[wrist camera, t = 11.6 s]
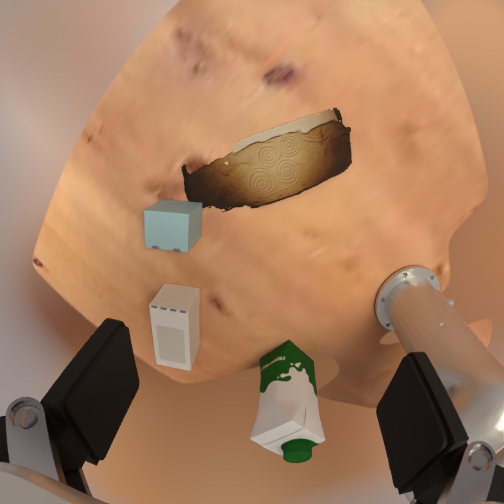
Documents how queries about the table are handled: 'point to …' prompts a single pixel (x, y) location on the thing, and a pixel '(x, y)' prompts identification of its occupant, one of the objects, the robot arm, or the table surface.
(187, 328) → the block
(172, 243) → the stub
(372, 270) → the table surface
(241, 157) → the parchment
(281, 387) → the milk carton
